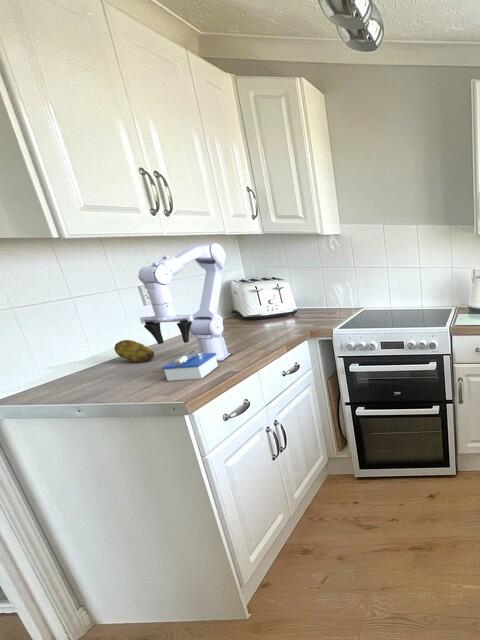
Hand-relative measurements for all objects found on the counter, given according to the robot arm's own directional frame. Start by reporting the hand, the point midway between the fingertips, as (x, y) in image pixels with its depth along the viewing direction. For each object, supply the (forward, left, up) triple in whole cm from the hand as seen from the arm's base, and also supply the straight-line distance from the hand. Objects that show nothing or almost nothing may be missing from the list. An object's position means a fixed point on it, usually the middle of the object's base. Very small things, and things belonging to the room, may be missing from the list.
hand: (173, 342), depth 143 cm
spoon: (+4, +5, -5) cm, 8 cm away
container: (+4, +5, -10) cm, 12 cm away
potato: (-19, -23, -11) cm, 32 cm away
